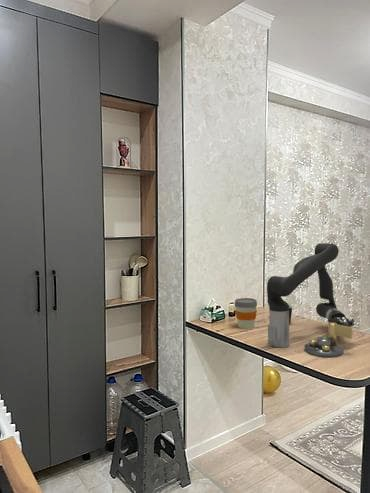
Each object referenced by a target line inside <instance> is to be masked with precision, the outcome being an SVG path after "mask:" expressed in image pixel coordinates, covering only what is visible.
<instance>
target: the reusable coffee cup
mask: <svg viewBox="0 0 370 493" xmlns="http://www.w3.org/2000/svg"><path fill="white" fill-rule="evenodd" d="M257 306H258V302H257V299H255V298H250V297H249V298H247V297H242V298H236V299H234V307H235V318H236V319H237V325H238V328H240V329H245V330H247V329H249V330H250V329H253V328H255V322H256V319H257V313H258V312H257V311H258V310H257Z"/></svg>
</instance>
